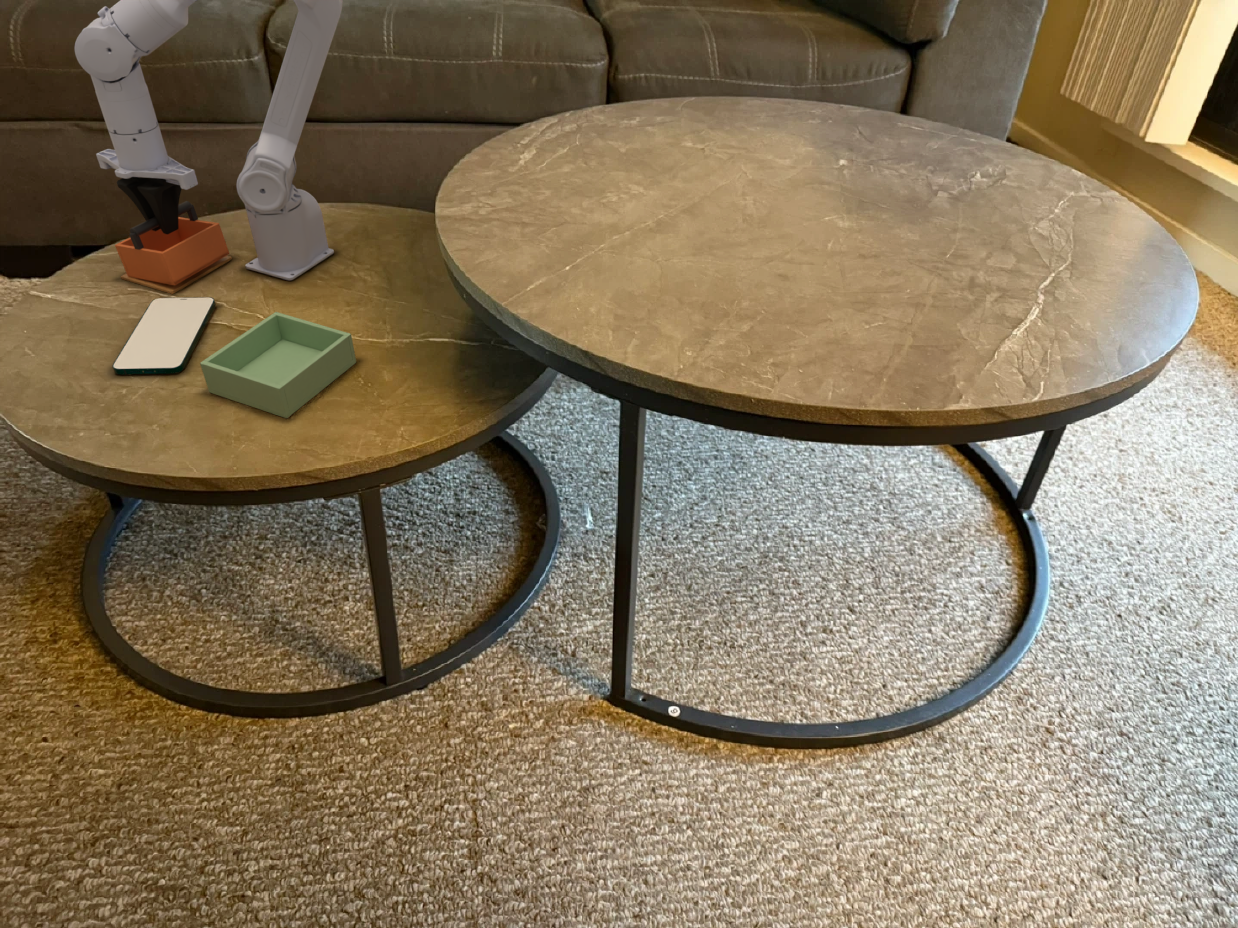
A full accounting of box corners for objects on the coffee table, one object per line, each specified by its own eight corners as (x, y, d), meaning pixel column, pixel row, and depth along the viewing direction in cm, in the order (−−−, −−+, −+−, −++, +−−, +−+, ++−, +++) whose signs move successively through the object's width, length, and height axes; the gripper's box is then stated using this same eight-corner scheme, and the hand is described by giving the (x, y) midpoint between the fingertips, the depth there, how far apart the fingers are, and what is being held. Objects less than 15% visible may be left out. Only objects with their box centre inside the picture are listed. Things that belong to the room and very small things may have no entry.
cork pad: (182, 245, 129) (182, 243, 129) (232, 259, 127) (231, 256, 126) (121, 278, 122) (120, 276, 121) (172, 294, 119) (171, 291, 119)
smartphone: (182, 374, 105) (218, 303, 117) (180, 368, 104) (216, 296, 117) (111, 376, 105) (154, 303, 117) (108, 369, 104) (152, 297, 116)
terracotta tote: (184, 245, 129) (166, 196, 124) (230, 253, 125) (213, 203, 121) (126, 276, 121) (105, 225, 117) (174, 286, 118) (153, 233, 114)
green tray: (282, 339, 111) (275, 311, 109) (356, 362, 108) (351, 333, 105) (209, 392, 103) (199, 362, 100) (287, 418, 99) (279, 388, 97)
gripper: (63, 126, 111) (100, 229, 120) (152, 147, 107) (184, 253, 115) (109, 109, 116) (142, 209, 125) (197, 128, 112) (224, 231, 120)
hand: (165, 229), depth 120 cm, fingers closed on terracotta tote
